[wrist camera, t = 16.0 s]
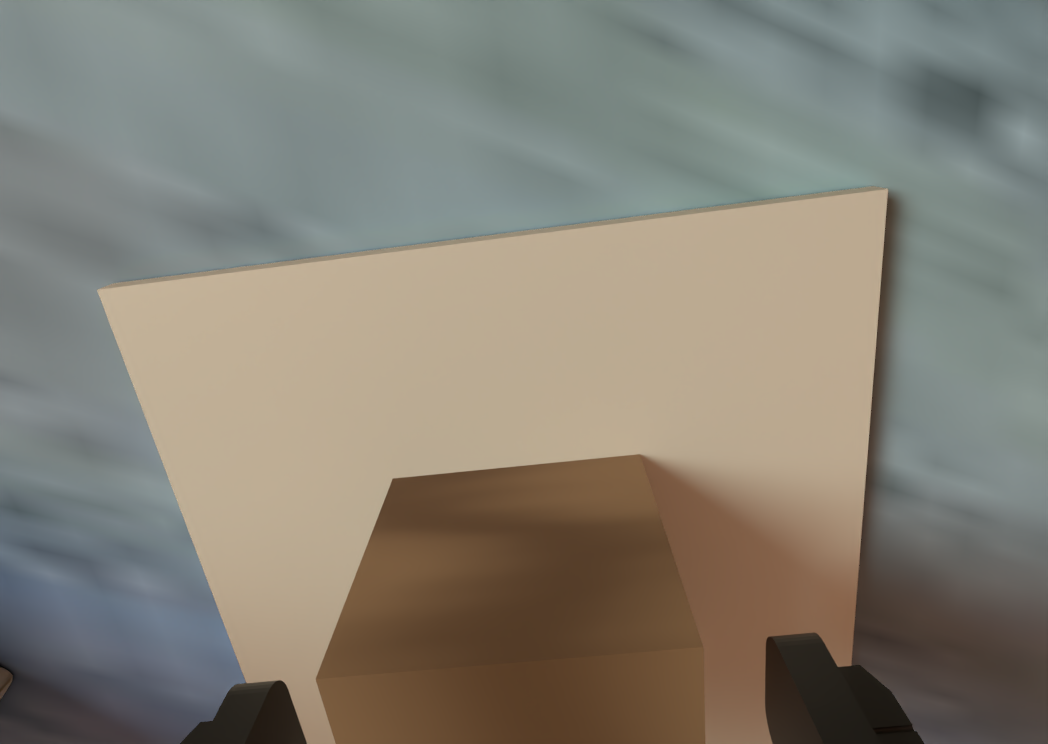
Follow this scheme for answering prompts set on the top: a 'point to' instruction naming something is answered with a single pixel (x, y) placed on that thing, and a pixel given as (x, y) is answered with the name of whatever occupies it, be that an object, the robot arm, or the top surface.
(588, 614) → the walnut block
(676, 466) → the mat
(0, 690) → the coffee box
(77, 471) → the top surface
